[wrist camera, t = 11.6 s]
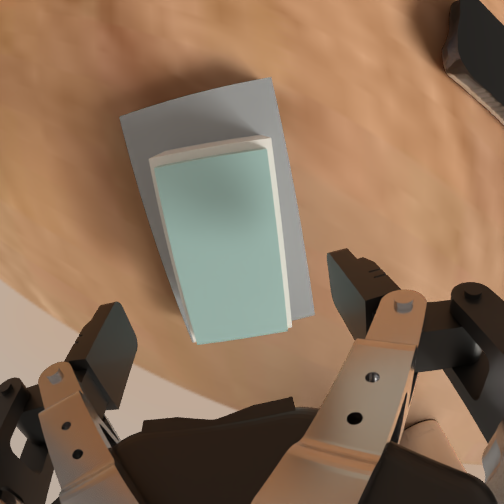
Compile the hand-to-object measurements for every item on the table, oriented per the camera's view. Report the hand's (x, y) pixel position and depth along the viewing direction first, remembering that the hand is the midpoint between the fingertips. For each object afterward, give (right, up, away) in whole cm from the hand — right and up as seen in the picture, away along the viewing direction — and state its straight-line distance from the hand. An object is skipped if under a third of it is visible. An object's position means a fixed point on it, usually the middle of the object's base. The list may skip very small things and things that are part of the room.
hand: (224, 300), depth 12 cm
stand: (-1, +5, +11) cm, 12 cm away
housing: (-1, +3, +8) cm, 9 cm away
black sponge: (+23, +18, +8) cm, 30 cm away
